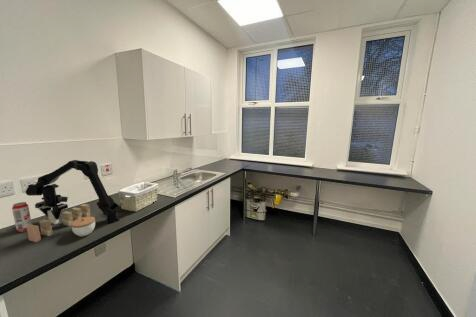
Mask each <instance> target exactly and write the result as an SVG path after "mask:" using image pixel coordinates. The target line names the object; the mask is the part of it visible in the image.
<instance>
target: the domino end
mask: <svg viewBox="0 0 476 317" xmlns="http://www.w3.org/2000/svg"><path fill="white" fill-rule="evenodd" d="M26 232H27V237H28V241H30V242H35V243H38V242H39V241H41V240H42V239H41V237H42V236H41V233H40V232H41V231H40V225H35V224H32V225H29V226H27V231H26Z"/></svg>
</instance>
